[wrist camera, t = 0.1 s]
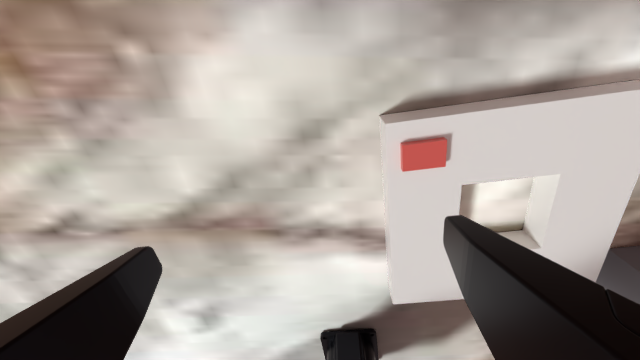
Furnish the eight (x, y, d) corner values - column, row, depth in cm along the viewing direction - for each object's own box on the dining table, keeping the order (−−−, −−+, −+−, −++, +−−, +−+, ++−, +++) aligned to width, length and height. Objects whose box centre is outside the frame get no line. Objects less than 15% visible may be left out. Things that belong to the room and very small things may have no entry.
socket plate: (571, 269, 27) (598, 294, 25) (388, 284, 29) (394, 309, 26) (635, 79, 19) (686, 86, 17) (379, 115, 21) (386, 126, 18)
